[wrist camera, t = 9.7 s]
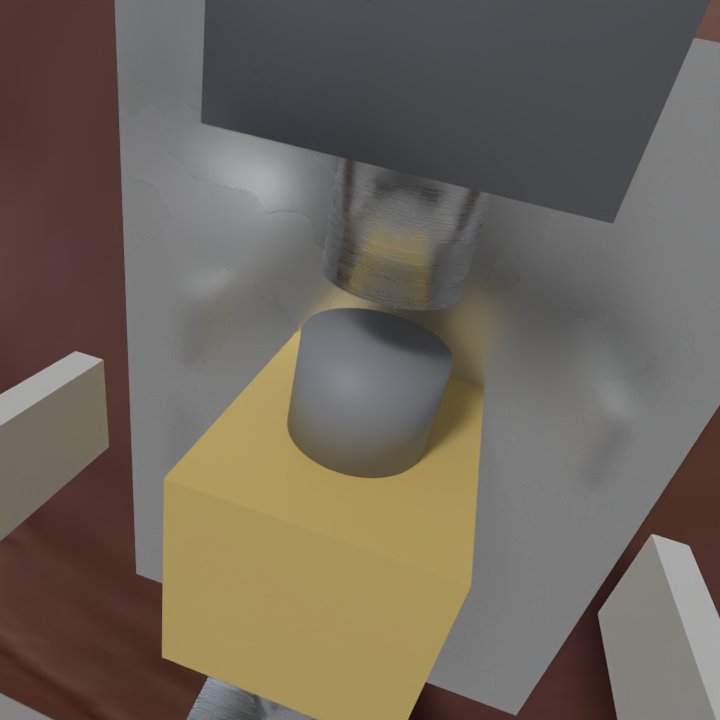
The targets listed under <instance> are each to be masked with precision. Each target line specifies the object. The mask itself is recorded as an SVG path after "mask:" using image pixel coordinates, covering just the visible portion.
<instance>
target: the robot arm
mask: <svg viewBox="0 0 720 720" xmlns="http://www.w3.org/2000/svg"><path fill="white" fill-rule="evenodd" d="M108 447H109V439H108V424H107V409H106V394H105V379H104V364H103V360H102V359H99V358H96V357H93V356H89V355H86V354H83V353H80V352H77V351H75V352H73V353H72V354H70V355H68V356H67V357H65V358H63V359H61V360H60V361H58V362H56V363H54V364H53V365H51V366H49V367H47V368H46V369H44V370H42V371H41V372H39V373H37V374H35V375H34V376H32V377H30V378H28V379H27V380H25V381H23V382H22V383H20V384H18V385H16V386H15V387H13V388H11V389H9V390H8V391H6V392H4V393H2V394H1V395H0V541H1V540H2V539H3V538H5V537H6V536H7V535H8V534H9V533H10V532H11V531H13V530H14V529H15V528H16V527H17V526H18V525H20V524H21V523H22V522H23V521H24V520H25V519H26V518H28V517H29V516H30V515H31V514H32V513H33V512H34V511H36V510H37V509H38V508H39V507H40V506H41V505H43V504H44V503H45V502H46V501H47V500H48V499H49V498H51V497H52V496H53V495H54V494H55V493H56V492H57V491H59V490H60V489H61V488H62V487H63V486H64V485H66V484H67V483H68V482H69V481H70V480H71V479H72V478H74V477H75V476H76V475H77V474H78V473H79V472H80V471H82V470H83V469H84V468H85V467H86V466H87V465H89V464H90V463H91V462H92V461H93V460H94V459H95V458H97V457H98V456H99V455H100V454H101V453H102V452H104V451H105V450H106V449H107V448H108ZM598 618H599V623H600V628H601V634H602V639H603V644H604V650H605V655H606V661H607V666H608V671H609V677H610V682H611V687H612V693H613V698H614V704H615V709H616V714H617V720H720V618H719V616H718V614H717V611H716V609H715V606H714V604H713V602H712V599H711V597H710V595H709V592H708V590H707V587H706V585H705V583H704V580H703V578H702V576H701V573H700V571H699V568H698V566H697V564H696V561H695V559H694V557H693V554H692V552H691V549H690V547H689V546H688V545H685V544H682V543H679V542H676V541H673V540H670V539H666V538H663V537H660V536H657V535H654V534H651V536H650V537H649V538H648V540H647V541H646V543H645V544H644V546H643V547H642V549H641V550H640V552H639V553H638V555H637V556H636V558H635V559H634V561H633V562H632V564H631V565H630V566H629V568H628V569H627V571H626V572H625V574H624V575H623V577H622V578H621V580H620V581H619V583H618V584H617V586H616V587H615V589H614V590H613V592H612V593H611V595H610V596H609V597H608V599H607V600H606V602H605V603H604V605H603V606H602V608H601V609H600V611H599V612H598Z"/></svg>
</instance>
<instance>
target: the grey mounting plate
mask: <svg viewBox="0 0 720 720" xmlns="http://www.w3.org/2000/svg"><path fill="white" fill-rule="evenodd" d="M709 3H710V0H115V20H116V47H117V73H118V99H119V126H120V152H121V179H122V205H123V232H124V258H125V284H126V311H127V337H128V364H129V390H130V416H131V443H132V469H133V496H134V522H135V548H136V574H139V575H141V576H144V577H147V578H149V579H152V580H155V581H157V582H160V583H163V510H164V478H165V477H166V475H167V474H168V473H169V472H170V471H171V470H172V469H173V468H174V467H175V465H176V464H177V463H178V462H179V461H180V460H181V459H182V458H183V457H184V456H185V454H186V453H187V452H188V451H189V450H190V449H191V448H192V447H193V446H194V445H195V443H196V442H197V441H198V440H199V439H200V438H201V437H202V436H203V435H204V434H205V432H206V431H207V430H208V429H209V428H210V427H211V426H212V425H213V424H214V422H215V421H216V420H217V419H218V418H219V417H220V416H221V415H222V414H223V413H224V411H225V410H226V409H227V408H228V407H229V406H230V405H231V404H232V403H233V402H234V400H235V399H236V398H237V397H238V396H239V395H240V394H241V393H242V392H243V390H244V389H245V388H246V387H247V386H248V385H249V384H250V383H251V382H252V381H253V379H254V378H255V377H256V376H257V375H258V374H259V373H260V372H261V371H262V370H263V368H264V367H265V366H266V365H267V364H268V363H269V362H270V361H271V360H272V358H273V357H274V356H275V355H276V354H277V353H278V352H279V351H280V350H281V349H282V347H283V346H284V345H285V344H286V343H287V342H288V341H289V340H290V339H291V338H292V336H293V335H294V334H295V333H296V332H299V333H301V329H302V326H303V324H304V323H305V321H306V320H307V319H308V318H309V317H311V316H313V315H314V314H316V313H319V312H322V311H325V310H330V309H337V308H362V309H370V310H376V311H381V312H386V313H389V314H393V315H396V316H400V317H402V318H405V319H408V320H410V321H412V322H415V323H417V324H419V325H421V326H423V327H425V328H426V329H428V330H430V331H431V332H433V333H434V334H435V335H437V336H438V337H439V338H440V339H441V340H442V341H443V342H444V343H445V344H446V345H447V346H448V348H449V349H450V351H451V353H452V356H453V366H452V369H451V372H450V375H449V378H452V379H456V380H459V381H462V382H466V383H469V384H472V385H476V386H479V387H482V388H484V398H483V413H482V428H481V443H480V458H479V473H478V488H477V503H476V519H475V534H474V549H473V564H472V579H471V587H470V589H469V591H468V593H467V596H466V598H465V600H464V602H463V604H462V606H461V608H460V610H459V612H458V615H457V617H456V619H455V621H454V623H453V625H452V627H451V629H450V631H449V634H448V636H447V638H446V640H445V642H444V644H443V646H442V648H441V650H440V653H439V655H438V657H437V659H436V661H435V663H434V665H433V667H432V670H431V672H430V674H429V676H428V678H427V680H426V682H428V683H430V684H433V685H436V686H438V687H441V688H444V689H446V690H449V691H452V692H454V693H457V694H460V695H462V696H465V697H468V698H470V699H473V700H476V701H478V702H481V703H484V704H486V705H489V706H492V707H494V708H497V709H500V710H503V711H505V712H508V713H511V714H513V715H517V713H518V712H519V710H520V709H521V707H522V706H523V704H524V703H525V701H526V700H527V698H528V696H529V695H530V693H531V692H532V690H533V689H534V687H535V686H536V684H537V683H538V681H539V680H540V678H541V677H542V675H543V674H544V672H545V671H546V669H547V667H548V666H549V664H550V663H551V661H552V660H553V658H554V657H555V655H556V654H557V652H558V651H559V649H560V648H561V646H562V645H563V643H564V642H565V640H566V638H567V637H568V635H569V634H570V632H571V631H572V629H573V628H574V626H575V625H576V623H577V622H578V620H579V619H580V617H581V616H582V614H583V613H584V611H585V609H586V608H587V606H588V605H589V603H590V602H591V600H592V599H593V597H594V596H595V594H596V593H597V591H598V590H599V588H600V587H601V585H602V584H603V582H604V580H605V579H606V577H607V576H608V574H609V573H610V571H611V570H612V568H613V567H614V565H615V564H616V562H617V561H618V559H619V558H620V556H621V555H622V553H623V551H624V550H625V548H626V547H627V545H628V544H629V542H630V541H631V539H632V538H633V536H634V535H635V533H636V532H637V530H638V529H639V527H640V526H641V524H642V522H643V521H644V519H645V518H646V516H647V515H648V513H649V512H650V510H651V509H652V507H653V506H654V504H655V503H656V501H657V500H658V498H659V497H660V495H661V493H662V492H663V490H664V489H665V487H666V486H667V484H668V483H669V481H670V480H671V478H672V477H673V475H674V474H675V472H676V471H677V469H678V467H679V466H680V464H681V463H682V461H683V460H684V458H685V457H686V455H687V454H688V452H689V451H690V449H691V448H692V446H693V445H694V443H695V442H696V440H697V438H698V437H699V435H700V434H701V432H702V431H703V429H704V428H705V426H706V425H707V423H708V422H709V420H710V419H711V417H712V416H713V414H714V413H715V411H716V409H717V408H718V406H719V405H720V43H718V42H713V41H708V40H703V39H697V38H694V37H695V35H696V33H697V30H698V28H699V26H700V23H701V21H702V19H703V17H704V14H705V12H706V10H707V7H708V5H709ZM187 720H318V719H316V718H313V717H311V716H308V715H306V714H303V713H301V712H298V711H296V710H293V709H291V708H288V707H286V706H283V705H281V704H278V703H276V702H273V701H271V700H268V699H266V698H263V697H261V696H258V695H256V694H253V693H251V692H248V691H246V690H243V689H241V688H238V687H236V686H233V685H231V684H228V683H226V682H223V681H221V680H218V679H216V678H213V677H210V676H209V677H208V679H207V681H206V683H205V685H204V687H203V689H202V691H201V692H200V694H199V696H198V698H197V700H196V702H195V704H194V706H193V708H192V710H191V712H190V714H189V716H188V718H187Z"/></svg>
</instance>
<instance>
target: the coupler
mask: <svg viewBox="0 0 720 720" xmlns="http://www.w3.org/2000/svg"><path fill="white" fill-rule="evenodd" d="M452 366H453V356H452V353H451V351H450V349H449V348H448V346H447V345H446V344H445V343H444V342H443V341H442V340H441V339H440V338H439V337H438V336H437V335H435V334H434V333H433V332H431V331H430V330H428V329H426V328H425V327H423V326H421V325H419V324H417V323H415V322H412V321H410V320H408V319H405V318H402V317H400V316H396V315H393V314H389V313H386V312H381V311H376V310H370V309H362V308H337V309H330V310H325V311H322V312H319V313H316V314H314V315H313V316H311V317H309V318H308V319H307V320H306V321H305V323H304V324H303V326H302V329H301V333H299V332H296V333H295V334H294V335H293V336H292V338H291V339H290V340H289V341H288V342H287V343H286V344H285V345H284V346H283V347H282V349H281V350H280V351H279V352H278V353H277V354H276V355H275V356H274V357H273V358H272V360H271V361H270V362H269V363H268V364H267V365H266V366H265V367H264V368H263V370H262V371H261V372H260V373H259V374H258V375H257V376H256V377H255V378H254V379H253V381H252V382H251V383H250V384H249V385H248V386H247V387H246V388H245V389H244V390H243V392H242V393H241V394H240V395H239V396H238V397H237V398H236V399H235V400H234V402H233V403H232V404H231V405H230V406H229V407H228V408H227V409H226V410H225V411H224V413H223V414H222V415H221V416H220V417H219V418H218V419H217V420H216V421H215V422H214V424H213V425H212V426H211V427H210V428H209V429H208V430H207V431H206V432H205V434H204V435H203V436H202V437H201V438H200V439H199V440H198V441H197V442H196V443H195V445H194V446H193V447H192V448H191V449H190V450H189V451H188V452H187V453H186V454H185V456H184V457H183V458H182V459H181V460H180V461H179V462H178V463H177V464H176V465H175V467H174V468H173V469H172V470H171V471H170V472H169V473H168V474H167V475H166V477H165V478H164V510H163V609H162V657H163V658H165V659H168V660H170V661H173V662H175V663H178V664H180V665H183V666H185V667H188V668H190V669H193V670H195V671H198V672H200V673H203V674H205V675H208V676H210V677H213V678H216V679H218V680H221V681H223V682H226V683H228V684H231V685H233V686H236V687H238V688H241V689H243V690H246V691H248V692H251V693H253V694H256V695H258V696H261V697H263V698H266V699H268V700H271V701H273V702H276V703H278V704H281V705H283V706H286V707H288V708H291V709H293V710H296V711H298V712H301V713H303V714H306V715H308V716H311V717H313V718H316V719H318V720H408V718H409V716H410V714H411V712H412V710H413V708H414V705H415V703H416V701H417V699H418V697H419V695H420V693H421V691H422V689H423V686H424V684H425V682H426V680H427V678H428V676H429V674H430V672H431V670H432V667H433V665H434V663H435V661H436V659H437V657H438V655H439V653H440V650H441V648H442V646H443V644H444V642H445V640H446V638H447V636H448V634H449V631H450V629H451V627H452V625H453V623H454V621H455V619H456V617H457V615H458V612H459V610H460V608H461V606H462V604H463V602H464V600H465V598H466V596H467V593H468V591H469V589H470V587H471V579H472V564H473V549H474V534H475V519H476V503H477V488H478V473H479V458H480V443H481V428H482V413H483V398H484V388H482V387H479V386H476V385H472V384H469V383H466V382H462V381H459V380H456V379H452V378H449V375H450V372H451V369H452Z"/></svg>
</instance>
